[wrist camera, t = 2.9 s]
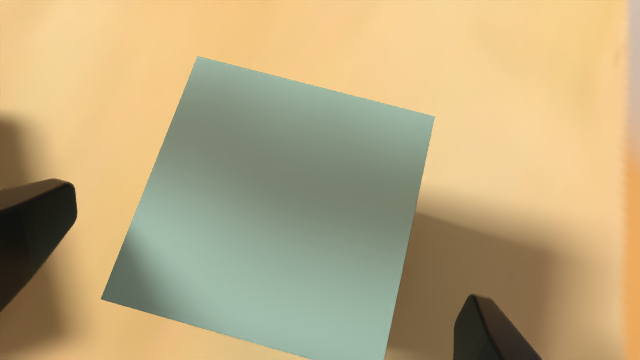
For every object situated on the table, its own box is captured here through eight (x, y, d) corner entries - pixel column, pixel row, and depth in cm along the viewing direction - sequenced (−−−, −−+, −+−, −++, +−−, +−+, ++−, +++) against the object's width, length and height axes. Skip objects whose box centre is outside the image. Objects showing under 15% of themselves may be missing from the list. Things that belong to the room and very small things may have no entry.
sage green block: (344, 340, 17) (379, 378, 9) (203, 300, 18) (100, 298, 9) (376, 201, 19) (434, 116, 10) (247, 166, 19) (197, 56, 11)
